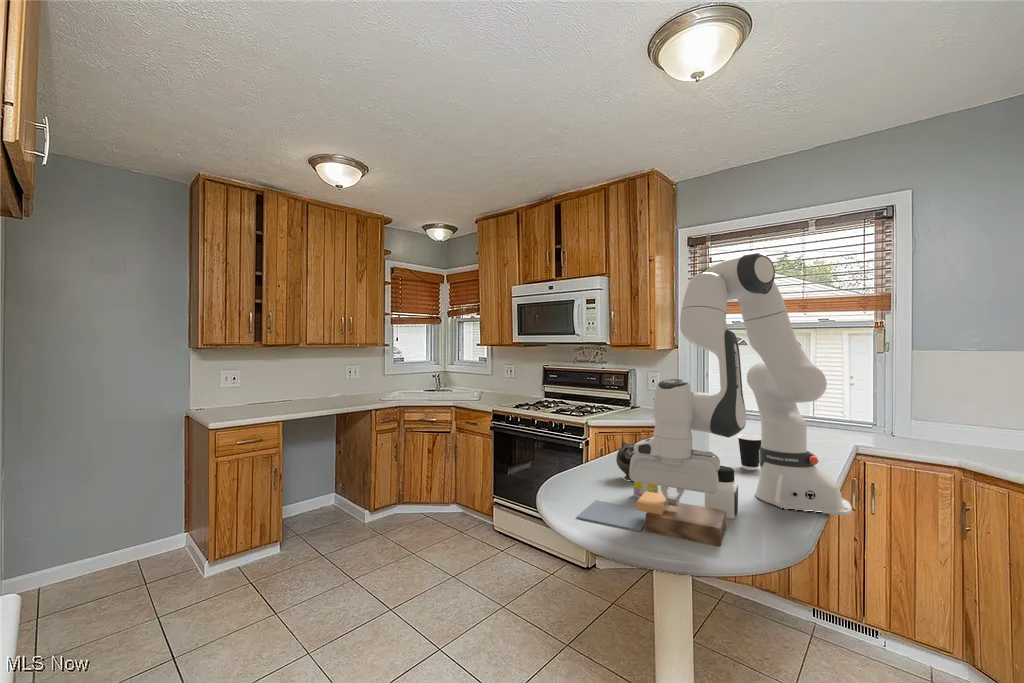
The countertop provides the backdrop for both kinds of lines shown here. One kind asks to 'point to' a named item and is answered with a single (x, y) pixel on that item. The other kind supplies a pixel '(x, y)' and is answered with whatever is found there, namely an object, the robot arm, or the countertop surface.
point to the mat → (614, 515)
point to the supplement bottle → (644, 488)
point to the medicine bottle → (724, 493)
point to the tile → (652, 503)
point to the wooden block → (689, 523)
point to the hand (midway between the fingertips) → (672, 505)
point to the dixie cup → (749, 451)
